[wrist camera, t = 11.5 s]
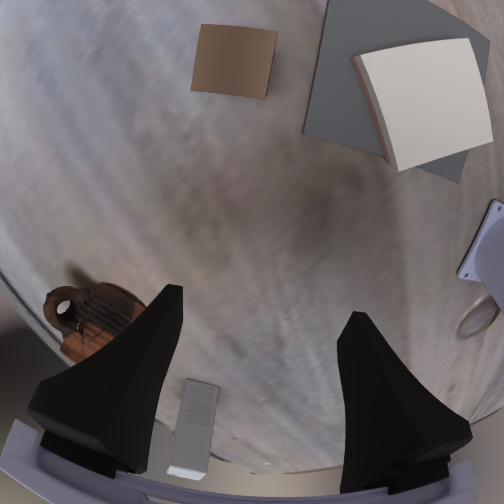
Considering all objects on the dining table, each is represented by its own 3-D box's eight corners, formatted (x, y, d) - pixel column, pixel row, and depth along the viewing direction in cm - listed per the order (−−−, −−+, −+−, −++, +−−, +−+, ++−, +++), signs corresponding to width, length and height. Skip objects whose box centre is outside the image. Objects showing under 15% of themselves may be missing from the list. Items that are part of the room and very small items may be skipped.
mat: (485, 40, 10) (489, 40, 10) (453, 180, 17) (457, 183, 16) (333, -33, 10) (335, -36, 9) (301, 133, 16) (303, 134, 16)
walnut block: (274, 49, 13) (277, 31, 8) (266, 95, 15) (264, 99, 10) (224, 43, 13) (201, 23, 8) (216, 88, 15) (190, 90, 10)
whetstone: (476, 133, 14) (451, 39, 11) (492, 141, 12) (468, 37, 9) (386, 162, 16) (350, 57, 13) (398, 171, 14) (360, 54, 11)
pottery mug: (177, 324, 27) (146, 398, 23) (131, 311, 33) (105, 369, 29) (79, 255, 19) (34, 347, 16) (54, 256, 25) (20, 323, 21)
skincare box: (211, 403, 36) (199, 481, 26) (181, 396, 35) (165, 473, 25) (220, 385, 32) (207, 475, 22) (186, 377, 32) (167, 466, 22)
